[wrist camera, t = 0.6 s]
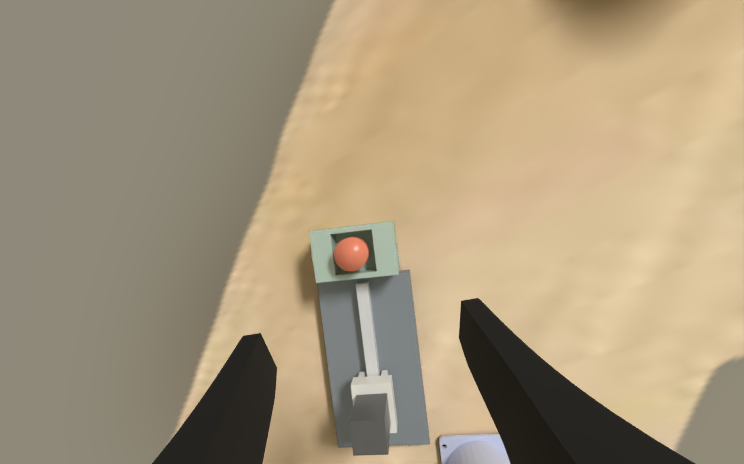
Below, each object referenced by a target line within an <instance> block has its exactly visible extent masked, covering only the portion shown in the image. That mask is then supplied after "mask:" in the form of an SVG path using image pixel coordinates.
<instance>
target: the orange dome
mask: <svg viewBox="0 0 744 464" xmlns="http://www.w3.org/2000/svg"><path fill="white" fill-rule="evenodd" d="M369 256H370V248H369V246H368V244H367V242H366V241H365V240H364V239H362V238H360V237H349V238H346V239H343V240H342V241H340V242H339V243H338V244H337V246H336V247H335V250H334V259H335V262H336V263H337V265H338V266H339V267H340V268H341V269H343V270H345V271H356V270H358V269H360V268H361V267H362V266H363V265H364V264H365V263H366V262H367V261H368V259H369Z"/></svg>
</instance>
